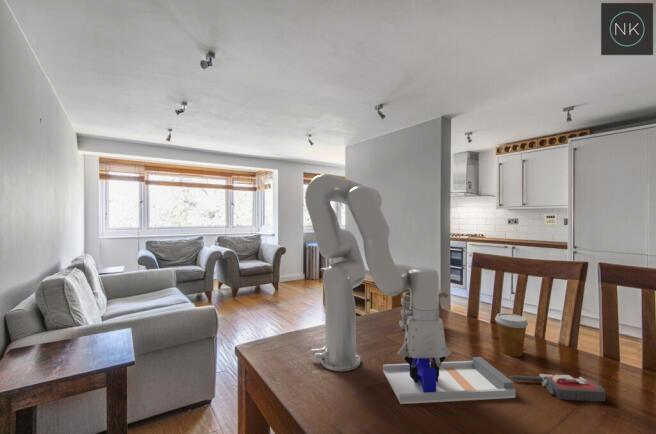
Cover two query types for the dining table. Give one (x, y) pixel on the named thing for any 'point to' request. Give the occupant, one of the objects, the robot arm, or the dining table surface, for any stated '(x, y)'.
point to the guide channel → (451, 382)
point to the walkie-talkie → (568, 387)
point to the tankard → (406, 303)
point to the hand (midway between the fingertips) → (424, 378)
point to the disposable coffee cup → (511, 333)
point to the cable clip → (426, 375)
